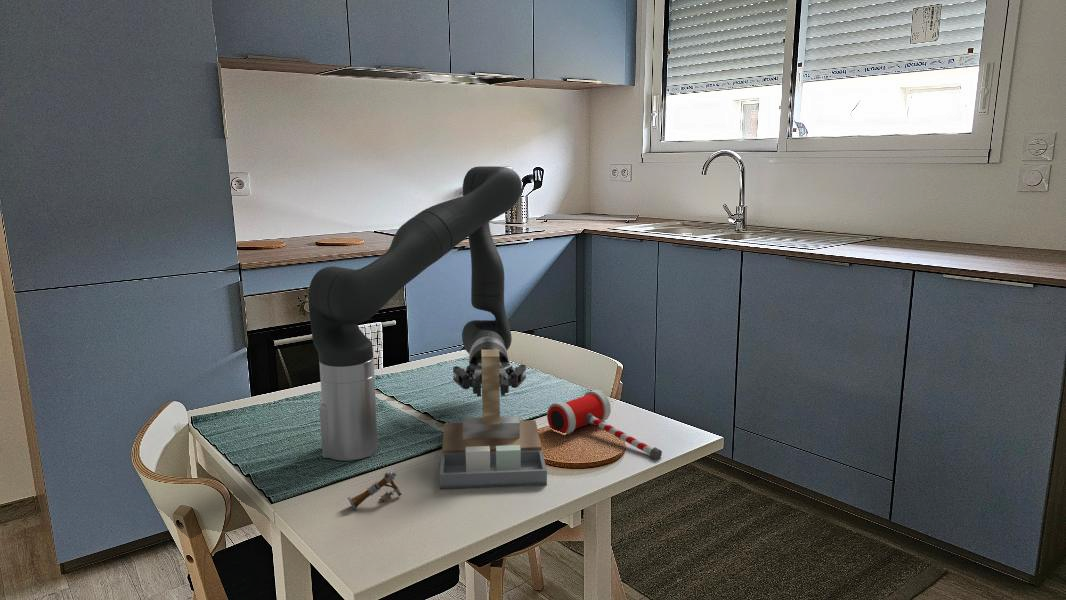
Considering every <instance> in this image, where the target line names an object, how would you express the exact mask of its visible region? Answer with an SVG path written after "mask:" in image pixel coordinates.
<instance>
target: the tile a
mask: <svg viewBox="0 0 1066 600" xmlns="http://www.w3.org/2000/svg"><path fill="white" fill-rule="evenodd" d="M481 471H490V446H474V447H466V472H481Z"/></svg>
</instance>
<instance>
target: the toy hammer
mask: <svg viewBox="0 0 1066 600" xmlns="http://www.w3.org/2000/svg"><path fill="white" fill-rule="evenodd" d="M611 408H612V407H611V403H610V400H609V398H608V396H607V395H606V394H605V393H604V391H601V390H599V389H593V390H590V391H587V392H586V393H584V395H583V396H580V397H578V398H574V399H572V400H569V401H557V402H554V403H552V404H550V405H549V406H548V409H547V411H546V420H547V423H548V426H549V428H550V429H551V428H552V429H554V430H557V431H560V432H562V433H567V434H568V435H570V434H569V433H571V432H572V433H573V432H574V430H576V429H579V428H581V427H584V426H587V425H589V424H592V425H594V426H596V427H598V428H599V429H602V430H604V431H606V432H607V433H609V434H611V435H613V436H615V437H616V438H618V439H620V440H622V441H624V442H626V443H628V445H631V446H633V447H635V448H636V449H639V450H640V451H643V452H644V453H646V454H647V455H649V456H650V458H651V459H654V460H658V459H660V458H661V457H662V454H663V452H662V450H661V449H659V448H657V447H651V446H650V445H648V444H647V443H644V442H642V441H641V440H639V439H637V438H635V437H633V436H631V435H629V434H627V433H626V432H624V431H622V430H620V429H618V428H616V427H614V426H613V425H610V424H608V423H607V422H605V421H607V420H608V419H609V417H610V415H611V410H612V409H611ZM572 433H571V434H572Z"/></svg>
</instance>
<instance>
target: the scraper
mask: <svg viewBox="0 0 1066 600" xmlns="http://www.w3.org/2000/svg"><path fill="white" fill-rule="evenodd" d="M481 356H482V388H481V399H482V400H481V403H482V404H481V410H482V411H481V413H482V416H481V417H462V423H463V440H469V439H500V438H520V422H519V421H520V416H519V415H517V416H500V414H501V411H500V410H501V407H500V406H501V405H500V404H501V403H500V400H501V399H500V397H501V392H500V373H499V349H489V350H481Z"/></svg>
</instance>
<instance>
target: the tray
mask: <svg viewBox="0 0 1066 600" xmlns="http://www.w3.org/2000/svg"><path fill="white" fill-rule="evenodd" d="M440 456H441V458H440V466H439V467H440V468H439V489H440V490H448V489H449V490H450V489H451V490H453V489H476V488H477V489H478V488H479V489H480V488H502V487H504V488H505V487H528V486H530V487H531V486H547V485H548V470H547V464H546V460H545V457H544V456H545V455H544V451H543V449H542V450H521V470H507V471H496V451H492V452H490V471H481V472H466V452H464V453H442V452H441V455H440Z"/></svg>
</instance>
